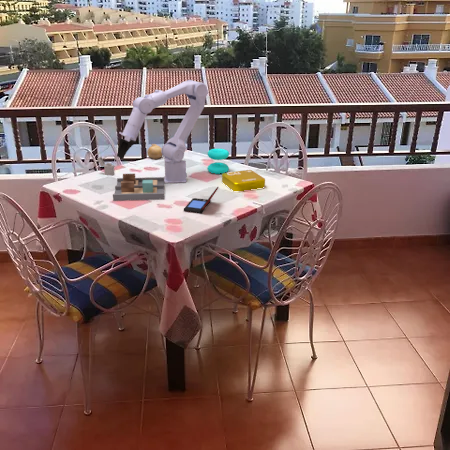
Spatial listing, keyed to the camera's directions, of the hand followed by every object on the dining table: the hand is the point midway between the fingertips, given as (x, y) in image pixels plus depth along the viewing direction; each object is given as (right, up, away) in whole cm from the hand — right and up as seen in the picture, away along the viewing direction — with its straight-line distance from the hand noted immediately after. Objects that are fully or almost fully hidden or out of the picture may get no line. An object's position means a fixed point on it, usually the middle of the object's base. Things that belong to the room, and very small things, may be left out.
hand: (119, 157), depth 192 cm
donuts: (+39, -2, +32) cm, 50 cm away
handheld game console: (+33, -21, -8) cm, 40 cm away
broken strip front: (+3, -10, +9) cm, 14 cm away
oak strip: (+8, -14, +1) cm, 16 cm away
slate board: (+7, -13, +6) cm, 16 cm away
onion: (+7, +6, +50) cm, 51 cm away
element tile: (+50, -10, +16) cm, 54 cm away
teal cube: (+11, -13, +1) cm, 18 cm away
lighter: (-11, -4, +25) cm, 28 cm away
